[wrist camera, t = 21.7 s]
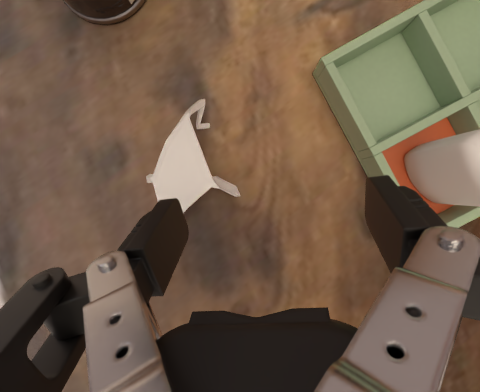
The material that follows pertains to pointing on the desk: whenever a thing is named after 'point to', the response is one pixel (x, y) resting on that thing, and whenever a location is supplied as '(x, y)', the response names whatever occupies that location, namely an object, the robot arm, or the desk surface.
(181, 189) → the origami figure
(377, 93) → the organizer
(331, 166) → the desk surface
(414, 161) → the eye dropper bottle
